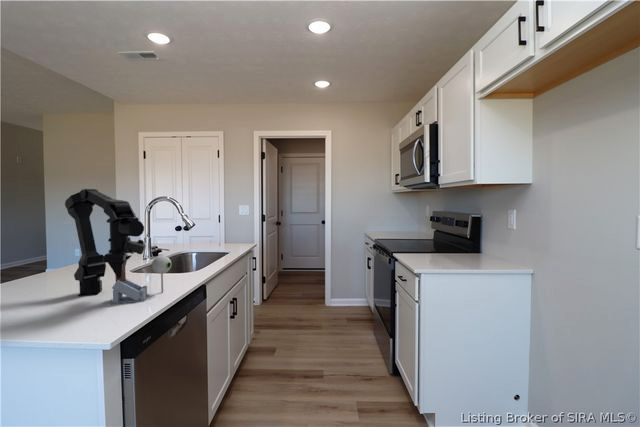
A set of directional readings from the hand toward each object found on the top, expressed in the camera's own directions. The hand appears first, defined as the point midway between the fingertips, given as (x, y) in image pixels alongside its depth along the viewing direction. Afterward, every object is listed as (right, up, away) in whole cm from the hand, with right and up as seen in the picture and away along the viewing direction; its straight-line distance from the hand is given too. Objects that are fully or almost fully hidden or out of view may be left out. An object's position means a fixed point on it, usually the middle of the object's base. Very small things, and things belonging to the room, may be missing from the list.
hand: (120, 276), depth 120 cm
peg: (0, -2, 0) cm, 2 cm away
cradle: (+2, -9, +1) cm, 9 cm away
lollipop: (+11, -9, +10) cm, 17 cm away
